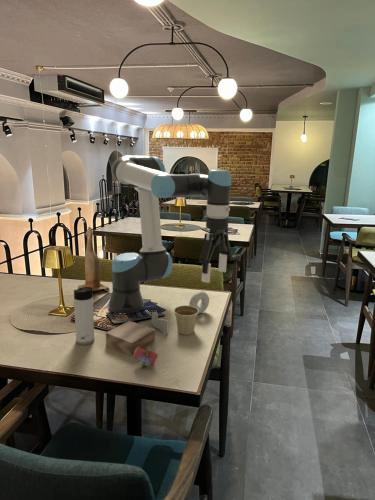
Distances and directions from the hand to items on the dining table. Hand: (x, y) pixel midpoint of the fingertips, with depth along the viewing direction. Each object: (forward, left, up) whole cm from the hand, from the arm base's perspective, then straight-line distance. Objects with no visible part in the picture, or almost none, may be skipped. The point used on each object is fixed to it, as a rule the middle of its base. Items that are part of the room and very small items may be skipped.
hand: (214, 276), depth 129 cm
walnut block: (-22, -20, -24) cm, 38 cm away
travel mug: (-36, -28, -24) cm, 51 cm away
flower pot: (-11, -1, -24) cm, 27 cm away
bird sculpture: (-70, +9, -24) cm, 74 cm away
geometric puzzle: (-9, -28, -24) cm, 38 cm away
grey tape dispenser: (-20, -5, -24) cm, 32 cm away
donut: (-15, +16, -24) cm, 33 cm away
